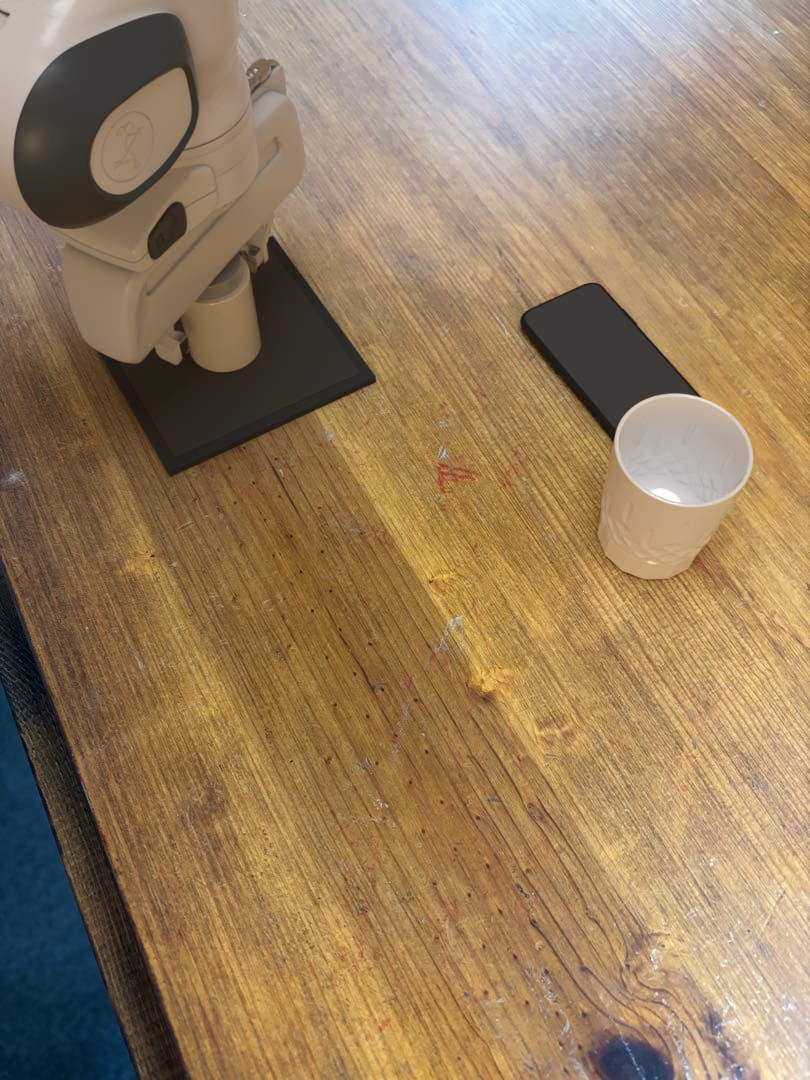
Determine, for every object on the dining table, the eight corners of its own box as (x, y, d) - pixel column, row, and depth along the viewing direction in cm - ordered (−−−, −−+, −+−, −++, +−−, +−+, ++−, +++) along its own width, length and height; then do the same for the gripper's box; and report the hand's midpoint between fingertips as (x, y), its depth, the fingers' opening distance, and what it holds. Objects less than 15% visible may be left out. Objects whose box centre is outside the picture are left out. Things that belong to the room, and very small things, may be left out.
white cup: (562, 529, 70) (586, 440, 61) (646, 464, 72) (679, 371, 63) (650, 612, 67) (688, 531, 58) (734, 542, 69) (782, 455, 60)
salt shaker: (207, 383, 75) (187, 302, 68) (177, 334, 77) (154, 251, 70) (274, 354, 76) (261, 272, 69) (241, 306, 78) (226, 222, 71)
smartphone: (638, 464, 71) (514, 314, 77) (635, 471, 72) (512, 322, 78) (724, 418, 73) (596, 276, 79) (720, 426, 74) (594, 284, 80)
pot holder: (170, 477, 71) (168, 471, 71) (80, 320, 78) (77, 314, 78) (376, 381, 76) (376, 375, 75) (273, 240, 82) (272, 234, 82)
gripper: (235, 26, 66) (259, 199, 78) (22, 231, 57) (87, 391, 69) (321, 59, 65) (333, 230, 77) (117, 274, 56) (166, 430, 68)
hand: (215, 308), depth 73 cm, fingers open, 8 cm apart
